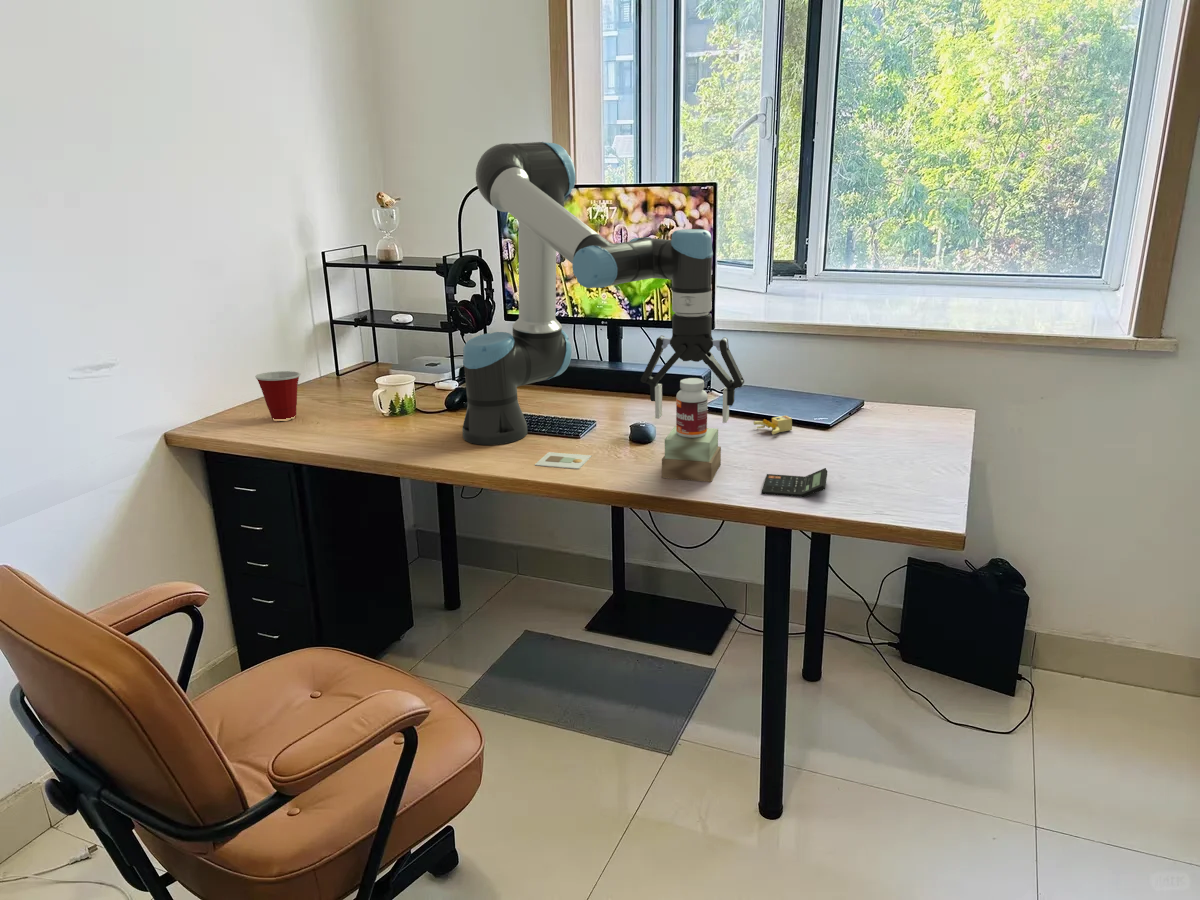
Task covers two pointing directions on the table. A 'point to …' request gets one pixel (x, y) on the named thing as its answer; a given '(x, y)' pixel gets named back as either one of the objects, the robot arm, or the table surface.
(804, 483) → the calculator
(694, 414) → the pill bottle
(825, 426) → the table surface
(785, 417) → the character toy
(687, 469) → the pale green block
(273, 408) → the plastic cup
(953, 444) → the table surface
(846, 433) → the table surface
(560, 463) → the page
